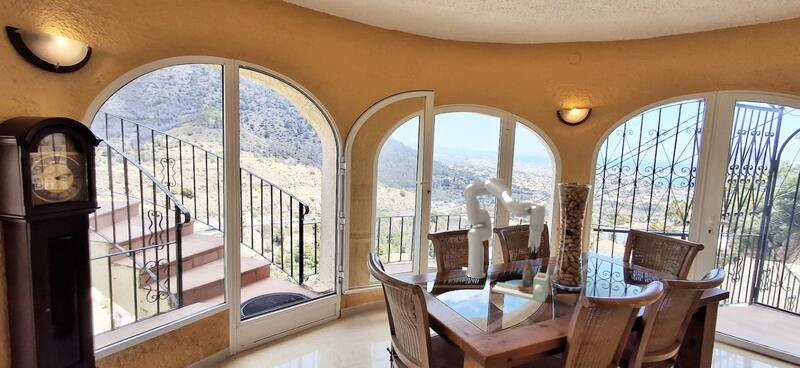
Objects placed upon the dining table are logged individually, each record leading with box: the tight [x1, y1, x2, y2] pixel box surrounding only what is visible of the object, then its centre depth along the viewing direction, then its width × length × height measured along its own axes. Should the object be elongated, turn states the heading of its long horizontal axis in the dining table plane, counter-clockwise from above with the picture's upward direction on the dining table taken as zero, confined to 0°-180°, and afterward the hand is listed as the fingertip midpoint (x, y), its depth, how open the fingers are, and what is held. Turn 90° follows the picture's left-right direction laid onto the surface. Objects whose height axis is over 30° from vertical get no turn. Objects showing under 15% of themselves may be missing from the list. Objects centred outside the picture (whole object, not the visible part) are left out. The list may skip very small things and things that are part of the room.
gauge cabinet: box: [533, 272, 550, 303], centre depth 210 cm, size 6×12×12 cm, turn 149°
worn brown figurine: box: [522, 258, 536, 285], centre depth 230 cm, size 12×6×18 cm, turn 121°
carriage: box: [516, 272, 533, 293], centre depth 214 cm, size 8×6×10 cm
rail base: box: [491, 281, 534, 301], centre depth 218 cm, size 22×12×4 cm, turn 59°
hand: (533, 259), depth 213 cm, fingers closed
